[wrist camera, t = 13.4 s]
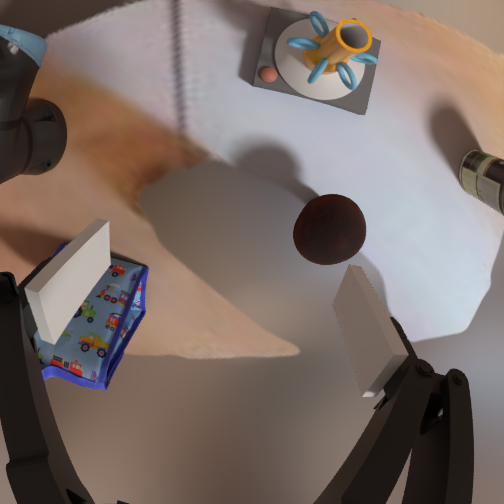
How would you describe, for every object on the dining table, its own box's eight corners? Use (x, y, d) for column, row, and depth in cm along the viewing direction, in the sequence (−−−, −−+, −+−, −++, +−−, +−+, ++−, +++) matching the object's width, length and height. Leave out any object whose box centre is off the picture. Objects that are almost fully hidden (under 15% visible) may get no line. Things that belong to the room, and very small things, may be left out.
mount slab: (253, 86, 40) (253, 84, 37) (270, 13, 33) (271, 5, 30) (358, 114, 41) (366, 115, 38) (374, 44, 35) (382, 40, 32)
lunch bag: (68, 288, 59) (7, 374, 33) (63, 240, 53) (-18, 323, 27) (147, 313, 61) (104, 420, 36) (150, 263, 55) (91, 376, 30)
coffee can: (464, 142, 42) (511, 158, 29) (493, 158, 43) (536, 177, 30) (452, 188, 47) (495, 214, 34) (481, 200, 47) (521, 226, 35)
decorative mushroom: (314, 164, 46) (338, 187, 33) (357, 203, 49) (391, 239, 36) (272, 210, 50) (279, 250, 37) (317, 245, 53) (336, 293, 40)
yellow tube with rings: (272, 36, 33) (281, 2, 20) (332, 16, 31) (366, -18, 17) (309, 103, 38) (336, 101, 25) (367, 82, 36) (415, 75, 22)
